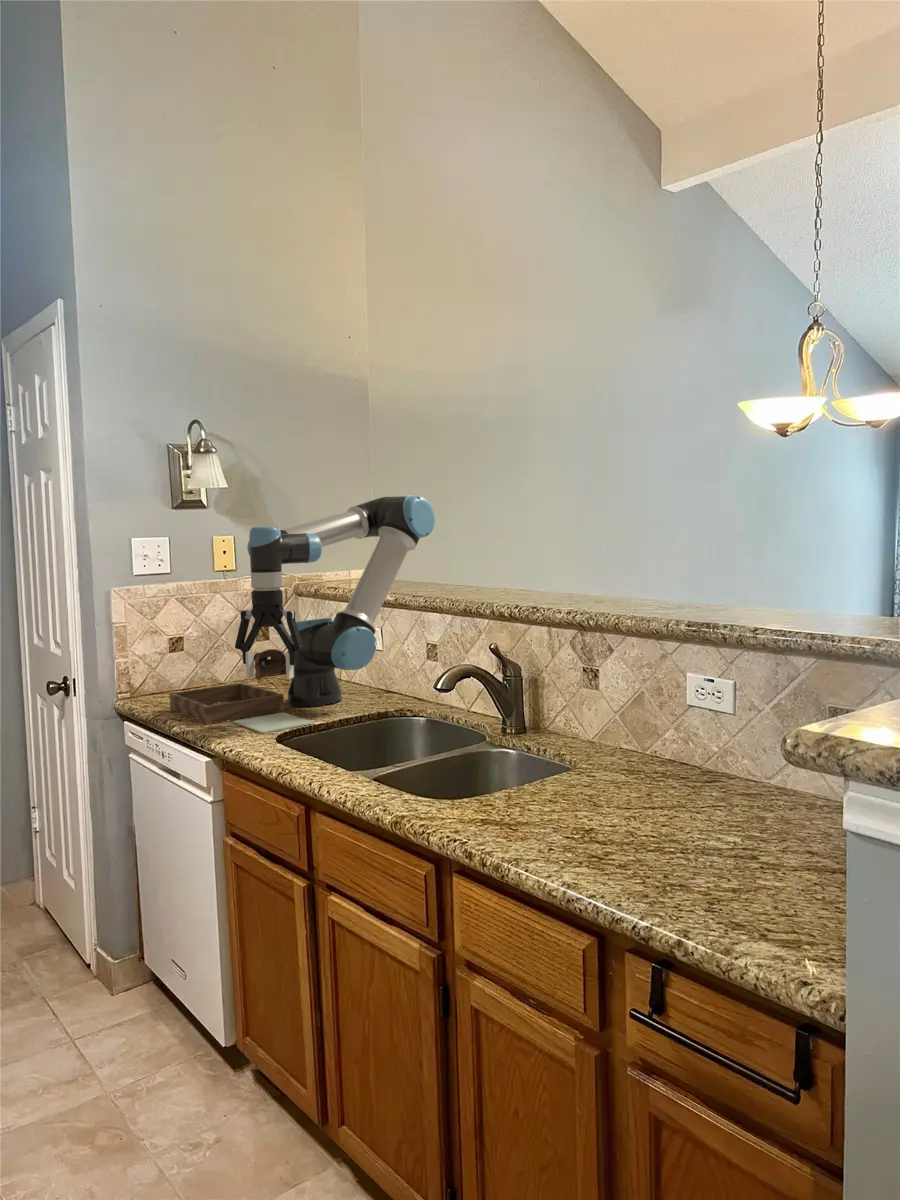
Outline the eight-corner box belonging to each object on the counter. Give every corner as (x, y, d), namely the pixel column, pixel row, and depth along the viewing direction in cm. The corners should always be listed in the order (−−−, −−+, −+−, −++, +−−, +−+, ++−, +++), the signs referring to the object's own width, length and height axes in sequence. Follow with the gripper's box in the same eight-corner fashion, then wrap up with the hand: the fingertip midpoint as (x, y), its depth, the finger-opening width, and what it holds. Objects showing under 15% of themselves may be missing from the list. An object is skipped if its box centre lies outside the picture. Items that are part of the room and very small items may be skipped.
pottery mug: (301, 678, 227) (295, 652, 223) (274, 699, 222) (267, 674, 217) (269, 662, 234) (262, 637, 229) (242, 683, 228) (234, 657, 223)
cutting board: (313, 724, 224) (313, 722, 224) (262, 734, 215) (262, 732, 215) (283, 714, 236) (283, 712, 236) (233, 722, 228) (233, 721, 228)
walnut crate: (283, 711, 240) (283, 694, 239) (207, 724, 226) (206, 707, 226) (243, 698, 259) (242, 682, 258) (170, 709, 245) (169, 693, 245)
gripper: (315, 587, 223) (318, 676, 225) (232, 587, 229) (236, 673, 231) (303, 590, 216) (306, 681, 218) (217, 590, 222) (221, 679, 224)
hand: (270, 677), depth 224 cm, fingers closed on pottery mug, 10 cm apart
